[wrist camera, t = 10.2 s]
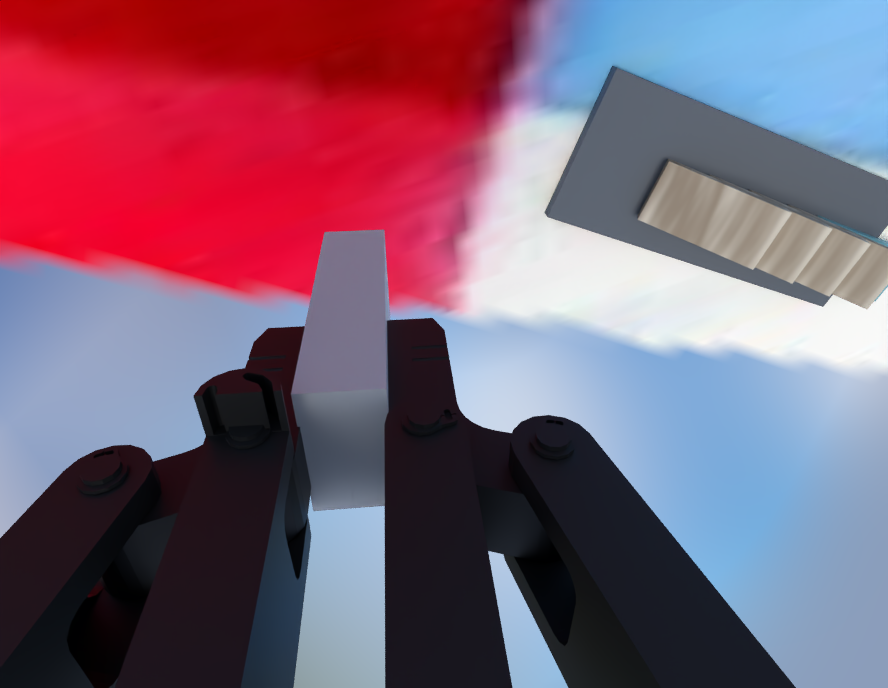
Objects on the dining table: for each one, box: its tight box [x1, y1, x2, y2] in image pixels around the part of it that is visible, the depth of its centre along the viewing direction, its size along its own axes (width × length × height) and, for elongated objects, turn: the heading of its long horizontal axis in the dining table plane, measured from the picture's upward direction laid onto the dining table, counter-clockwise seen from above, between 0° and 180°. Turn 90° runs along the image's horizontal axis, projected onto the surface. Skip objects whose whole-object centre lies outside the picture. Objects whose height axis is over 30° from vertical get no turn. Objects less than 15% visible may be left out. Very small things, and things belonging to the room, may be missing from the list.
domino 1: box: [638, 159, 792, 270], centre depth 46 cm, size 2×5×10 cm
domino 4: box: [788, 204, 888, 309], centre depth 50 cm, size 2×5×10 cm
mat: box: [545, 66, 888, 307], centre depth 50 cm, size 30×12×1 cm, turn 70°
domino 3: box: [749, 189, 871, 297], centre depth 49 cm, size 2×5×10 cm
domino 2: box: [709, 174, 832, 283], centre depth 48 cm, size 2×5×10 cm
